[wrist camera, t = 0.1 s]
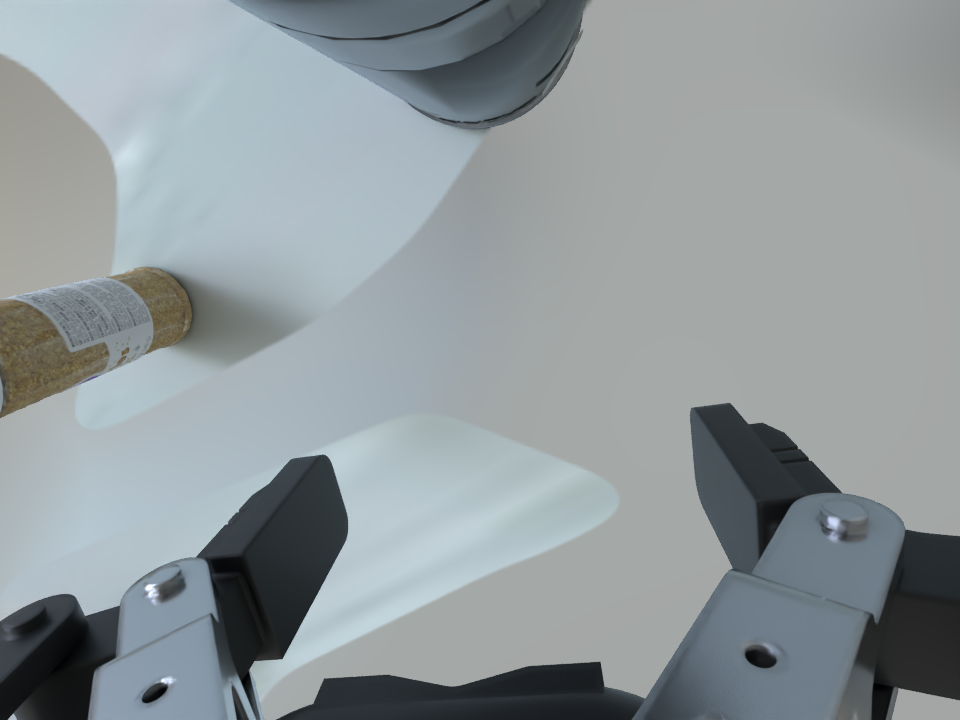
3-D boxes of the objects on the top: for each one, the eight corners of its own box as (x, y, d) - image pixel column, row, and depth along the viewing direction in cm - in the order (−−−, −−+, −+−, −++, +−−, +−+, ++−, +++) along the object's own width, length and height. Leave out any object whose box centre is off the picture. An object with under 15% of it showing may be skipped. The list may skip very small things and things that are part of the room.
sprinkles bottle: (154, 358, 32) (-106, 480, 19) (101, 290, 31) (-211, 370, 18) (213, 320, 30) (-22, 422, 18) (160, 248, 29) (-128, 301, 17)
